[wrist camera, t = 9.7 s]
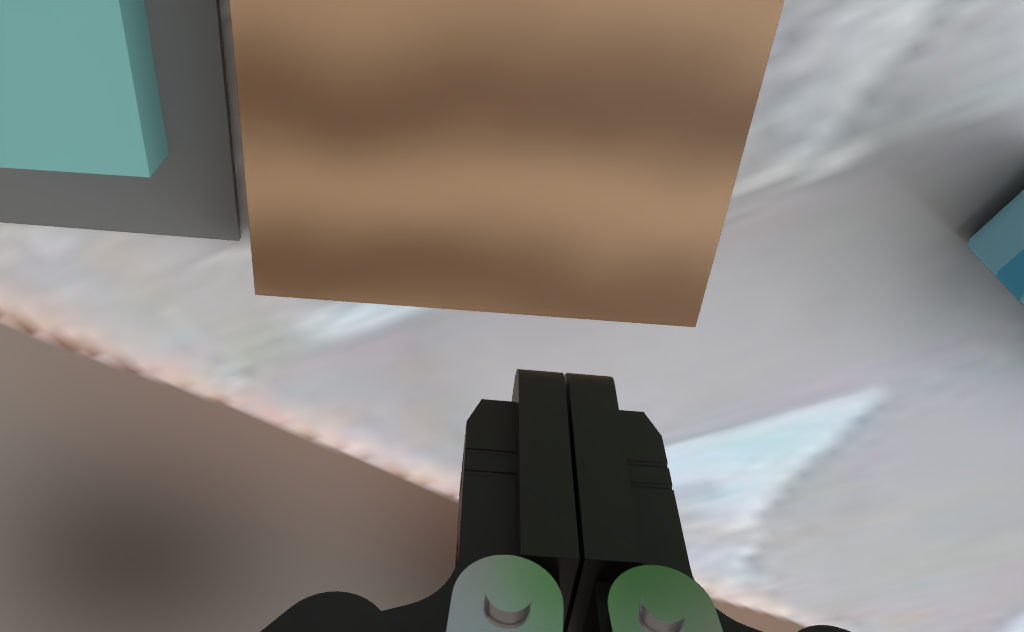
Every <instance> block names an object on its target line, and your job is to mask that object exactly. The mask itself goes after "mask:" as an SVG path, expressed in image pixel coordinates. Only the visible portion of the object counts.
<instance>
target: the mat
mask: <svg viewBox="0 0 1024 632" xmlns="http://www.w3.org/2000/svg"><path fill="white" fill-rule="evenodd" d="M144 3H145V9H146V16H147V22H148V28H149V34H150V41H151V47H152V53H153V59H154V66H155V72H156V78H157V84H158V91H159V97H160V103H161V109H162V116H163V122H164V128H165V134H166V141H167V147H168V153H169V155H168V156H167V157H166V158H165V159H164V161H163V162H162V163H161V164H160V166H159V167H158V168H157V169H156V171H155V172H154V173H153V174H152V175H151V177H136V176H121V175H106V174H91V173H76V172H61V171H47V170H32V169H17V168H2V167H0V222H4V223H17V224H30V225H42V226H55V227H68V228H81V229H94V230H107V231H119V232H132V233H145V234H158V235H171V236H184V237H196V238H209V239H222V240H235V241H239V240H240V238H241V233H240V222H239V211H238V201H237V190H236V180H235V169H234V159H233V148H232V137H231V127H230V116H229V106H228V95H227V84H226V74H225V63H224V53H223V42H222V31H221V21H220V10H219V0H144Z"/></svg>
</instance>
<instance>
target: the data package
mask: <svg viewBox="0 0 1024 632" xmlns="http://www.w3.org/2000/svg"><path fill="white" fill-rule="evenodd" d="M968 245H969V247H970V249H971V250H972V251H973V253H974V254H975V255H976V256H977V257H978V258H979V259H980V260H981V261H982V262H983V263H984V264H985V265H986V266H987V267H988V268H989V270H990V271H991V272H992V273H993V274H994V275H995V276H996V277H997V278H998V279H999V280H1000V281H1001V282H1002V283H1003V284H1004V285H1005V286H1006V287H1007V288H1008V289H1009V290H1010V292H1011V293H1012V294H1013V295H1014V296H1015V297H1016V298H1017V299H1018V300H1019V301H1020V302H1021V303H1022V304H1023V305H1024V189H1023V190H1022V191H1021V192H1020V193H1019V194H1018V195H1017V196H1016V197H1015V198H1014V199H1013V200H1011V201H1010V202H1009V203H1008V204H1007V205H1006V206H1005V207H1004V208H1003V209H1002V210H1001V211H999V212H998V213H997V214H996V215H995V216H994V217H993V218H992V219H991V220H990V221H989V222H987V223H986V224H985V225H984V226H983V227H982V228H981V229H980V230H979V231H978V232H976V233H975V234H974V235H973V236H972V237H971V238H970V239H969V241H968Z"/></svg>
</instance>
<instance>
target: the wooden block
mask: <svg viewBox="0 0 1024 632" xmlns="http://www.w3.org/2000/svg"><path fill="white" fill-rule="evenodd" d="M783 3H784V0H230V11H231V22H232V34H233V45H234V57H235V68H236V80H237V91H238V102H239V114H240V125H241V137H242V148H243V160H244V171H245V183H246V194H247V206H248V217H249V229H250V240H251V251H252V263H253V274H254V286H255V295H265V296H279V297H293V298H306V299H320V300H333V301H347V302H360V303H374V304H388V305H401V306H415V307H428V308H442V309H456V310H469V311H483V312H496V313H510V314H523V315H537V316H551V317H564V318H578V319H591V320H605V321H618V322H632V323H646V324H659V325H673V326H686V327H695V326H696V323H697V319H698V315H699V312H700V308H701V304H702V301H703V297H704V293H705V290H706V286H707V282H708V279H709V275H710V271H711V268H712V264H713V260H714V256H715V253H716V249H717V245H718V242H719V238H720V234H721V231H722V227H723V223H724V220H725V216H726V212H727V209H728V205H729V201H730V198H731V194H732V190H733V187H734V183H735V179H736V176H737V172H738V168H739V165H740V161H741V157H742V154H743V150H744V146H745V143H746V139H747V135H748V132H749V128H750V124H751V121H752V117H753V113H754V110H755V106H756V102H757V99H758V95H759V91H760V88H761V84H762V80H763V77H764V73H765V69H766V65H767V62H768V58H769V54H770V51H771V47H772V43H773V40H774V36H775V32H776V29H777V25H778V21H779V18H780V14H781V10H782V7H783Z"/></svg>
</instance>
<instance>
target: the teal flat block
mask: <svg viewBox="0 0 1024 632" xmlns="http://www.w3.org/2000/svg"><path fill="white" fill-rule="evenodd" d="M168 155H169V153H168V147H167V141H166V134H165V128H164V122H163V116H162V109H161V103H160V97H159V91H158V84H157V78H156V72H155V66H154V59H153V53H152V47H151V41H150V34H149V28H148V22H147V16H146V9H145V3H144V0H0V167H2V168H17V169H32V170H47V171H61V172H76V173H91V174H106V175H121V176H136V177H151V175H152V174H153V173H154V172H155V171H156V169H157V168H158V167H159V166H160V164H161V163H162V162H163V161H164V159H165V158H166V157H167V156H168Z"/></svg>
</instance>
